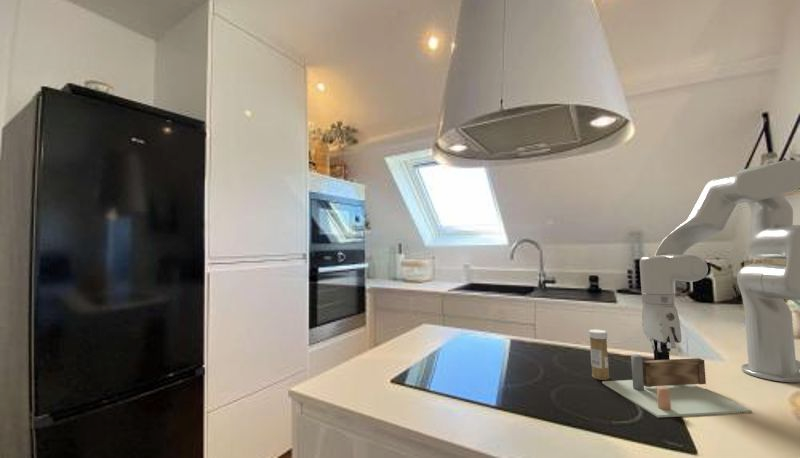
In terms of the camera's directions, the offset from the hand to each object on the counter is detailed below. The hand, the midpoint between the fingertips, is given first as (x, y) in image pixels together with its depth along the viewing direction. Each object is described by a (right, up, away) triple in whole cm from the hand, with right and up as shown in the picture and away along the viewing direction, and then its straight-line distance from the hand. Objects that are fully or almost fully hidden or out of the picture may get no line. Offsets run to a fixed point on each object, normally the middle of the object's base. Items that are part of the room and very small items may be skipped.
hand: (662, 365), depth 100 cm
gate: (-2, -3, -7) cm, 7 cm away
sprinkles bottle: (-16, -5, +3) cm, 17 cm away
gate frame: (-6, -4, -11) cm, 13 cm away
